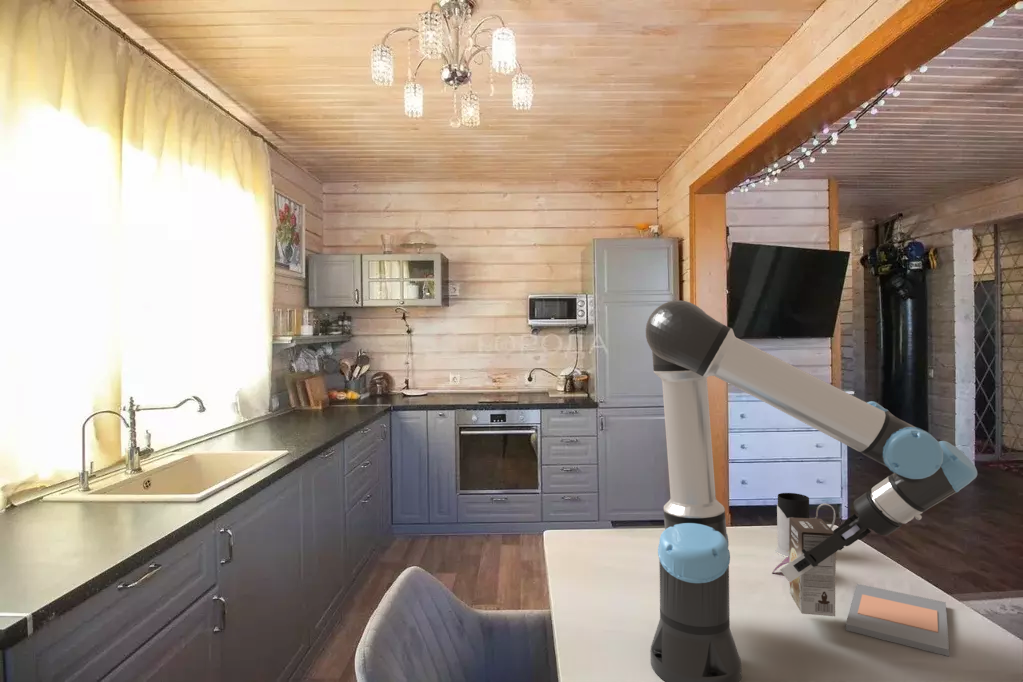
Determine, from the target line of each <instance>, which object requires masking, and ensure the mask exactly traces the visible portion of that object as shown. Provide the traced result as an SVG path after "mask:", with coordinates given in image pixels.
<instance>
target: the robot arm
mask: <svg viewBox="0 0 1023 682" xmlns="http://www.w3.org/2000/svg"><path fill="white" fill-rule="evenodd" d="M645 338H646V342H647V344H648V346H649V349H651V352H652V353H651V355H652V356H651V357H652V366H653V367H652V368H653V373H654V374H655V375H656V376H657V377H658V378H660V380H661V383H662V398H663V410H664V413H663V414H664V426H665V428H664V429H665V437H666V453H667V454H666V455H667V464H668V465H667V466H668V469H667V470H668V483H669V492H670V493H669V495H670V499H669V500H668V501H667V502H666V503H665V504H664V505H663V521H664V522H663V523H664V530H663V531H662V532H661V534H660V537H659V543H658V547H657V555H658V559H659V620H658V623H657V627H656V630H655V633H654V636H653V639H652V642H651V645H650V665H651V668H652V669H653V672H654V673H655V674H656V675H657V676H658V677H659V678H660V679H662V680H663V681H664V682H741V680H742V679H741V678H742V661H741V657H740V654H739V651H738V648H737V645H736V642H735V639H734V636H733V633H732V631H731V630H732V629H731V626H730V625H731V621H730V615H731V614H730V566H729V565H730V562H731V552H730V550H729V545H730V544H729V536H728V533H727V522H726V521H727V520H726V509H725V508H726V507H724V505H723V504H722V503H720V502H719V500H717V498H716V495H717V494H716V483H715V471H714V469H715V468H714V458H713V457H714V456H713V445H712V444H713V443H712V442H713V441H712V430H711V429H712V428H711V418H710V416H711V414H710V404H709V403H710V402H709V401H710V400H709V387H708V378H709V377H712V376H713V377H716V378H717V379H720V380H721V381H723V382H725V383H727V384H729V385H731V386H733V387H735V388H737V389H739V390H740V391H742V392H744V393H746V394H748V395H751V396H752V397H754V398H756V399H758V400H760V401H761V402H763V403H765V404H767V405H769V406H771V407H773V408H774V409H777V410H779V411H780V412H782V413H785V414H787V415H788V416H790V417H793V418H794V419H796V420H798V421H800V422H802V423H804V424H806V425H807V426H810V427H811V428H813V429H815V430H817V431H819V432H821V433H822V434H824V435H826V436H828V437H830V438H832V439H834V440H836V441H838V442H840V443H842V444H844V445H845V446H848V447H850V448H851V449H853V450H855V451H857V452H860V453H861V454H862V455H863V456H866V457H867V458H869V459H872V460H873V461H875V462H877V463H879V464H881V465H883V466H885V467H887V469H889V471H890V472H892V474H890V475H888V476H887V477H886V478H884V479H883V480H881V481H880V482H878V483H877V484H875V485H874V486H873V487H872V488H871V490H868V491H866V492H865V493H863V494H862V495H860V496H859V497H857V498H856V499H855V500H854V501H853V508H854V510H855V512H856V513H854V514H852V515H851V516H849V517H848V518H847V519H845V520H844V521H843V522H842V524H840V525H839V526H838V527H836V528H835V529H833V530H832V531H833V535H831V536H830V537H829V538H827V539H826V540H824V541H823V542H821V543H820V544H818V545H817V546H816V547H814V548H813V549H811V550H810V551H807V552H806V550H805V549H803V550H802V552H803V554H802V555H801V556H799V557H798V558H796V559H795V560H793V561H792V562H790V563H787V564H785V566H783V567H780V569H779V571H780V573H782V575H783V576H784V577H785V578H786V579H787V581H788V583H789V582H791V581H793V580H794V579H796V578H797V577H799V576H800V575H802V574H804V573H805V572H807V571H808V570H810V569H811V568H813V567H816V566H817V565H818V564H819V563H820V562H822V561H823V560H825V559H826V558H828V557H829V556H831V555H832V554H833V553H835V552H836V553H837V552H838V551H842V550H843V549H845V547H849V546H851V545H852V544H854V543H855V542H857V541H858V540H859V541H860V540H863V539H864V538H866V537H867V536H868V535H869V534H870V533H872V531H873V532H874V533H875V534H877V535H880V536H882V537H886V536H889V535H891V534H892V533H893V532H896V531H897V530H899V529H900V528H901V527H903V524H907V523H908V522H911V521H912V520H914V519H915V520H917V521H920V520H922V518H923V516H922V514H923V513H924V512H926V511H928V510H929V509H930V508H932V507H934V506H936V505H937V504H939V503H941V502H943V501H944V500H946V499H947V498H949V497H950V496H953V495H954V494H956V493H959V492H960V490H962V489H964V488H965V487H966V486H968V485H969V484H970V483H971V482H972V481H974V480H976V478H977V476H978V470H977V468H976V467H977V466H975V464H974V462H972V460H971V459H970V458H969V457H968V456H967V455H966V454H965V453H964V452H963V451H961V450H960V449H959V448H958V447H957V446H955V445H953V444H952V443H950V442H949V441H946V440H940V441H938V440H937V439H936V438H935V437H934V436H933V435H932V434H931V433H930V432H928V431H927V430H924V429H922V428H920V427H917V426H914V425H913V424H910V423H908V422H906V421H904V420H902V419H900V418H898V417H897V416H895V415H894V414H892V413H891V412H890V411H889V410H888V409H887V408H884V407H883V405H881V404H879V403H878V402H877V401H872V400H871V401H864V400H862V399H860V398H858V397H857V396H854V395H852V394H850V393H849V392H846V391H844V390H842V389H841V388H838V387H836V386H834V385H832V384H831V383H828V382H826V381H824V380H822V379H820V378H818V377H816V376H815V375H812V374H810V373H808V372H806V371H804V370H803V369H800V368H798V367H796V366H794V365H792V364H790V363H788V362H786V361H785V360H782V359H780V358H778V357H776V356H774V355H772V354H771V353H768V352H767V351H763V350H762V349H760V348H758V347H756V346H754V345H752V344H750V343H748V342H746V341H745V340H742V339H740V338H738V337H736V336H735V332H734V330H733V328H732V327H729V326H727V325H726V324H724V323H721V321H718V320H716V319H715V318H714V317H712V316H710V315H709V314H708V313H706V312H705V311H704V310H703V309H702V308H701V307H699V306H697V305H696V304H694V303H692V302H690V301H686V300H680V299H679V300H678V299H677V300H671V301H667V302H665V303H662V304H661V305H658V307H657V308H655V309H654V310H653V312H652V313H651V314H650V316H649V318H648V319H647V323H646V327H645Z"/></svg>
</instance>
